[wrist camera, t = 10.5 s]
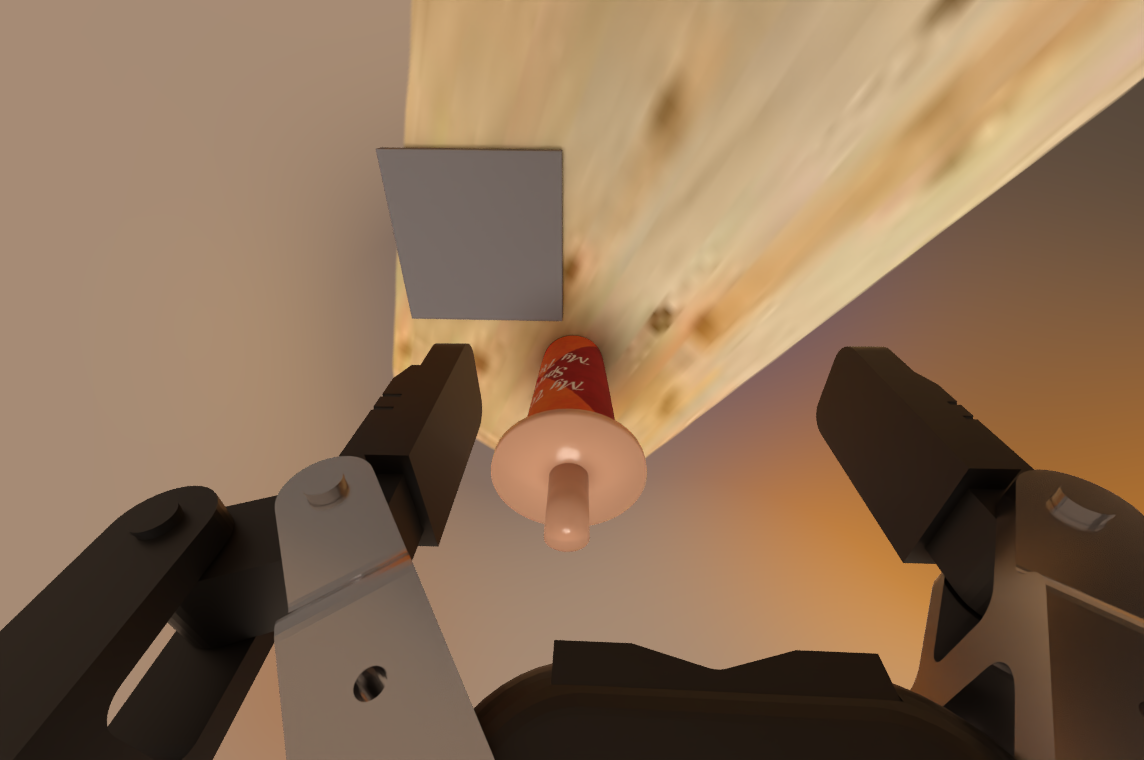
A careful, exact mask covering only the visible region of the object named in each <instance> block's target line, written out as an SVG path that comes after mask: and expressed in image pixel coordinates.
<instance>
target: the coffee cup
mask: <svg viewBox="0 0 1144 760" xmlns="http://www.w3.org/2000/svg"><path fill="white" fill-rule="evenodd" d="M555 409H581V410H587V411H592V412H595V413H599V414H602V415H604V416H607V417H609V418H611V419H613V420H615V419H614V413H613V408H612V403H611V397H610V392H609V387H608V382H607V376H606V372H605V367H604V362H603V358H602V355H601V352H600V350H599V349H598V347H597V346H596V345H595V344H594V343H593V342H592V341H590V340H589V339H587V338H584V337H581V336H565V337H562V338H559V339H557V340H555V341H554V342H553V343H552V344H551V345H550V346H549V347H548V349H547V350H546V352H545V355H544V358H543V361H542V364H541V368H540V371H539V375H538V379H537V383H536V386H535V390H534V394H533V398H532V402H531V406H530V409H529V413H528V416H531V415H534V414H536V413H540V412H544V411H548V410H555Z"/></svg>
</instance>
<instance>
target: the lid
mask: <svg viewBox="0 0 1144 760" xmlns="http://www.w3.org/2000/svg"><path fill="white" fill-rule="evenodd" d="M491 477H492V481H493V485H494V487H495V489H496V491H497V493H498V494H499V496H500V497H501V498H502V500H504V502H505V503H506V504H507V505H509V507H511V508H512V509H513V510H515V511H516V512H517V513H519V514H521V515H523V516H524V517H526V518H529V519H531V520H533V521H536V522H540V523H542V524H545V529H544V540H545V542H546V544H547V545H548V546H549V547H551V548H553V549H555V550H558V551H562V552H573V551H577V550H580V549H582V548H584V547H585V546H586V545H587V544H588V542H589V539H590V533H589V526H590V525H595V524H599V523H602V522H605V521H608V520H610V519H612V518H615V517H616V516H618V515H620V514H622V513H623V512H625V511H626V510H627V509H629V508H630V507H631V506H632V505H633V504H634V503H635V502H636V500H637V499H638V498H639V496H640V495H641V493H642V491H643V489H644V487H645V483H646V479H647V468H646V461H645V456H644V453H643V450H642V447H641V445H640V444H639V442H638V440H637V439H636V438H635V436H634V435H633V434H632V433H631V432H630V431H629V430H628V429H627V428H626V427H624V426H623V425H621V424H620V423H619V422H617V421H615V420H613V419H611V418H609V417H607V416H604V415H602V414H599V413H595V412H592V411H587V410H581V409H555V410H548V411H544V412H540V413H536V414H534V415H531V416H528V417H526V418H524V419H523V420H521V421H519V422H517V423H516V424H515V425H513V426H512V427H511V428H510V429H508V430H507V431H506V432H505V433H504V435H503V436H502V437H501V439H500V440H499V442H498V444H497V446H496V448H495V452H494V455H493V459H492V465H491Z"/></svg>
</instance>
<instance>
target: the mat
mask: <svg viewBox="0 0 1144 760" xmlns="http://www.w3.org/2000/svg"><path fill="white" fill-rule="evenodd" d="M376 152H377V157H378V162H379V167H380V171H381V176H382V180H383V185H384V190H385V195H386V199H387V204H388V209H389V213H390V218H391V223H392V227H393V232H394V236H395V241H396V246H397V250H398V255H399V260H400V264H401V269H402V274H403V278H404V283H405V288H406V292H407V297H408V302H409V306H410V311H411V316H412V318H414V319H471V320H527V321H562V318H563V267H562V150H526V149H451V148H378V149H376Z"/></svg>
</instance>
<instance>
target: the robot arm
mask: <svg viewBox="0 0 1144 760" xmlns="http://www.w3.org/2000/svg"><path fill="white" fill-rule="evenodd" d="M481 417H482V400H481V394H480V389H479V383H478V377H477V371H476V366H475V360H474V354H473V350H472V348H471V346H470V345H469V344H434V345H433V346H432V348H431V349H430V351H429V353H428V354H427V356H426V357H425V359H424V361H423V362H422V364H421V365H411V366H410V367H408V368H407V369H406V370H404V371H403V372H401V373H400V374H398V375H397V376H396V377H394V378H393V379H392V381H391V382H390V384H389V385H388V387H387V388H386V390H385V391H384V392H383V397H380V398H379V399H378V401H377V402H376V404H375V405H374V410H371V411H370V412H369V414H368V415H367V417H366V418H365V420H364V421H363V422H362V424H361V425H360V427H359V428H358V429H357V431H356V432H355V434H354V435H353V437H352V438H351V440H350V441H349V442H348V444H347V445H346V447H345V448H344V450H343V451H342V452H341V454H340V455H339V457H333V458H329V459H325V460H322V461H319V462H317V463H315V464H312V465H310V466H308V467H307V468H305V469H303V470H301V471H300V472H299V473H297V474H296V475H294V476H293V477H292V478H291V479H290V480H289V481H288V482H287V483H286V484H285V485H284V486H283V487H282V489H281V490H280V492H279V494H278V495H277V496H272V497H268V498H263V499H259V500H254V501H250V502H245V503H241V504H237V505H232V506H227V507H225V506H224V504H223V503H222V501H221V500H220V499H219V497H218V496H217V494H216V493H214V491H213V490H211V489H209V488H207V487H203V486H187V487H181V488H176V489H173V490H169V491H166V492H164V493H161V494H158V495H156V496H154V497H152V498H149V499H147V500H145V501H144V502H142V503H140V504H138V505H136V506H135V507H133V508H132V509H130V510H128V511H127V512H126V513H124V514H123V515H122V516H120V517H119V518H118V519H117V520H115V521H114V522H113V523H112V524H111V525H110V526H109V527H108V528H107V529H106V530H105V531H104V532H103V533H102V534H101V535H100V536H98V538H96V539H95V540H94V541H93V542H92V543H91V544H90V545H89V546H88V547H87V548H86V549H85V550H84V551H83V552H82V553H81V554H80V555H79V556H78V557H77V558H76V559H75V560H74V561H73V562H72V563H71V564H69V566H67V567H66V568H65V569H64V570H63V571H62V572H61V573H60V574H59V575H58V576H57V577H56V578H55V579H54V580H53V581H52V582H51V583H50V584H49V585H48V586H47V587H46V588H45V589H44V590H43V591H41V592H40V593H39V594H38V595H37V596H36V597H35V598H34V599H33V600H32V601H31V602H30V603H29V604H28V605H27V606H26V607H25V608H24V609H23V610H22V611H21V612H20V613H19V614H18V615H17V616H16V617H15V618H14V619H13V620H11V621H10V622H9V623H8V624H7V625H6V626H5V627H4V628H3V629H2V630H1V631H0V760H213V758H214V756H215V754H216V752H217V750H218V748H219V747H220V744H221V743H222V741H223V739H224V737H225V735H226V733H227V731H228V729H229V727H230V726H231V724H232V722H233V720H234V718H235V716H236V714H237V712H238V710H239V708H240V706H241V705H242V702H243V701H244V699H245V697H246V695H247V693H248V691H249V689H250V687H251V686H252V684H253V682H254V680H255V678H256V676H257V674H258V672H259V670H260V668H261V667H262V665H263V663H264V661H265V659H266V657H267V655H268V653H269V651H270V649H271V647H272V646H273V644H274V642H275V653H276V663H277V672H278V681H279V692H280V701H281V711H282V721H283V730H284V740H285V750H286V759H287V760H1144V516H1143V515H1142V514H1141V513H1140V512H1139V511H1138V510H1137V509H1135V508H1134V507H1133V506H1132V505H1131V504H1129V503H1128V502H1126V501H1125V500H1123V499H1122V498H1120V497H1119V496H1117V495H1115V494H1113V493H1112V492H1110V491H1108V490H1106V489H1104V488H1102V487H1100V486H1098V485H1096V484H1093V483H1091V482H1089V481H1086V480H1083V479H1081V478H1078V477H1075V476H1072V475H1068V474H1064V473H1060V472H1056V471H1048V470H1034V469H1033V468H1032V467H1031V466H1029V465H1028V464H1027V463H1026V462H1025V461H1024V460H1023V459H1022V458H1020V457H1019V456H1018V455H1017V454H1016V453H1015V452H1014V451H1012V450H1011V449H1010V448H1009V447H1008V446H1007V445H1006V444H1005V443H1003V442H1002V441H1001V440H1000V439H999V438H998V437H997V436H996V435H994V434H993V433H992V432H991V431H990V430H989V429H988V428H986V427H985V426H984V425H983V424H982V423H981V422H980V421H979V420H975V419H973V415H972V414H971V413H970V412H968V411H967V410H966V409H965V408H964V407H963V406H962V405H957V401H956V400H955V399H954V398H952V397H951V396H950V395H949V394H948V393H947V392H946V391H944V390H943V389H942V388H941V387H940V386H939V385H937V384H936V383H934V382H932V381H930V380H929V379H927V378H925V377H923V376H921V375H919V374H917V373H915V372H914V371H913V370H911V369H910V368H909V367H908V366H907V365H906V364H905V363H904V362H903V361H902V360H901V359H900V358H898V357H897V356H896V355H895V354H894V353H893V352H892V351H891V350H889V349H888V348H886V347H844V348H842V349H841V350H840V351H839V352H838V354H837V355H836V358H835V360H834V363H833V365H832V368H831V371H830V373H829V376H828V379H827V381H826V384H825V387H824V389H823V392H822V395H821V398H820V400H819V403H818V406H817V413H816V418H817V425H818V429H819V431H820V433H821V435H822V436H823V438H824V439H825V441H826V442H827V444H828V445H829V447H830V449H831V450H832V452H833V453H834V455H835V456H836V458H837V460H838V461H839V463H840V464H841V466H842V468H843V469H844V471H845V472H846V474H847V475H848V476H849V479H850V480H851V482H852V483H853V485H854V486H855V488H856V490H857V491H858V493H859V494H860V496H861V497H862V499H863V500H864V502H865V503H866V505H867V507H868V508H869V510H870V511H871V513H872V514H873V516H874V518H875V519H876V521H877V522H878V524H879V525H880V527H881V529H882V530H883V532H884V533H885V535H886V537H887V538H888V540H889V541H890V542H891V544H892V546H893V547H894V549H895V551H896V552H897V554H898V555H899V557H900V558H901V560H902V562H903V563H924V564H937V566H938V567H939V569H940V570H941V572H942V573H941V574H940V575H939V576H938V578H937V579H936V580H935V581H934V584H933V587H932V593H931V599H930V605H929V612H928V617H927V623H926V630H925V635H924V641H923V648H922V653H921V659H920V665H919V670H918V674H917V677H916V679H915V682H914V684H913V686H912V688H911V690H908V689H905V688H903V687H900V686H898V685H895V684H893V683H892V682H891V680H890V678H889V676H888V673H887V671H886V670H885V667H884V665H883V664H882V661H881V659H880V657H879V655H878V654H870V653H847V652H824V651H823V652H822V651H800V650H799V651H798V650H795V651H792V652H788V653H784V654H780V655H777V656H773V657H769V658H765V659H762V660H758V661H754V662H750V663H746V664H743V665H739V666H735V667H731V668H728V669H722V670H716V669H710V668H707V667H704V666H701V665H697V664H694V663H691V662H688V661H685V660H682V659H679V658H676V657H672V656H669V655H666V654H663V653H660V652H657V651H654V650H650V649H647V648H644V647H641V646H638V645H635V644H632V643H611V642H610V643H609V642H587V641H564V640H555V641H554V652H553V664H549V665H546V666H542V667H538V668H535V669H533V670H531V671H528V672H526V673H524V674H521V675H519V676H517V677H515V678H514V679H512V680H510V681H508V682H507V683H505V684H503V685H502V686H500V687H499V688H498V689H496V690H495V691H494V692H492V693H491V694H490V695H488V696H487V697H486V698H484V699H483V700H482V701H481V702H480V703H479V704H478V705H477V706H476V707H475V708H474V709H473V706H472V704H471V702H470V699H469V697H468V694H467V692H466V690H465V687H464V685H463V683H462V680H461V678H460V675H459V673H458V670H457V668H456V666H455V664H454V661H453V658H452V656H451V654H450V651H449V649H448V646H447V644H446V642H445V639H444V637H443V634H442V632H441V630H440V627H439V625H438V622H437V620H436V618H435V615H434V613H433V610H432V608H431V606H430V603H429V601H428V599H427V596H426V594H425V591H424V589H423V587H422V584H421V582H420V579H419V577H418V574H417V572H416V570H415V567H414V565H413V562H412V559H413V557H414V554H415V552H416V549H417V547H418V546H439V543H440V540H441V537H442V534H443V531H444V528H445V525H446V522H447V520H448V517H449V514H450V511H451V508H452V505H453V502H454V499H455V496H456V494H457V491H458V488H459V485H460V482H461V479H462V476H463V473H464V471H465V468H466V465H467V462H468V459H469V456H470V453H471V450H472V447H473V445H474V442H475V439H476V436H477V433H478V430H479V427H480V423H481ZM167 622H168V623H169V624H170V625H171V626H172V627H173V628H174V629H176V632H175V633H174V635H173V636H172V638H171V639H170V640H169V642H168V643H167V645H166V646H165V647H164V649H163V650H162V652H161V653H160V654H159V656H158V657H157V659H156V660H155V661H154V663H153V664H152V666H151V667H150V668H149V670H148V671H147V673H146V674H145V675H144V677H143V678H142V679H141V681H140V682H139V684H138V685H137V687H136V688H135V689H134V691H133V692H132V694H131V695H130V696H129V698H128V699H127V701H126V702H125V703H124V705H123V706H122V707H121V709H120V710H119V712H118V713H117V715H116V716H115V717H114V719H113V720H112V722H111V723H110V724H109V726H108V727H107V714H108V710H109V706H110V704H111V701H112V699H113V697H114V695H115V693H116V692H117V690H118V689H119V687H120V686H121V684H122V683H123V681H124V680H125V679H126V677H127V676H128V675H129V673H130V672H131V671H132V669H133V668H134V667H135V665H136V664H137V662H138V661H139V660H140V659H141V657H142V656H143V654H144V653H145V652H146V650H147V649H148V648H149V646H150V645H151V644H152V642H153V641H154V640H155V638H156V637H157V636H158V634H159V633H160V632H161V630H162V629H163V627H164V626H165V625H166V623H167Z"/></svg>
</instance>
